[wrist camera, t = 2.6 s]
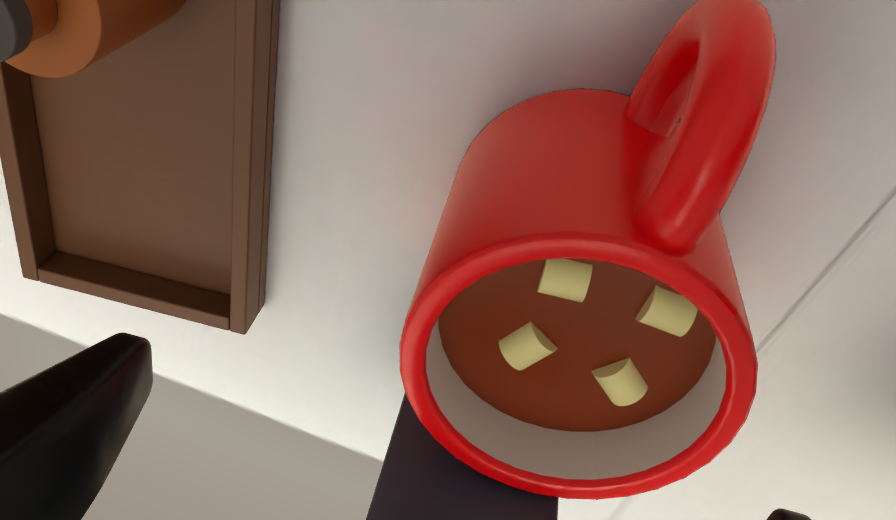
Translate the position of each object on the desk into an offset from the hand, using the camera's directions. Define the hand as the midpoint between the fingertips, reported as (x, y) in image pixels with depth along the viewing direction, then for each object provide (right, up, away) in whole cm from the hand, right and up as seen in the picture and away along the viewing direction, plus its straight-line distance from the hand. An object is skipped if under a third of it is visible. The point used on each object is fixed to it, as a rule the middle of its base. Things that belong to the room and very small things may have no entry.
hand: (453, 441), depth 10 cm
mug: (+5, +6, +11) cm, 14 cm away
